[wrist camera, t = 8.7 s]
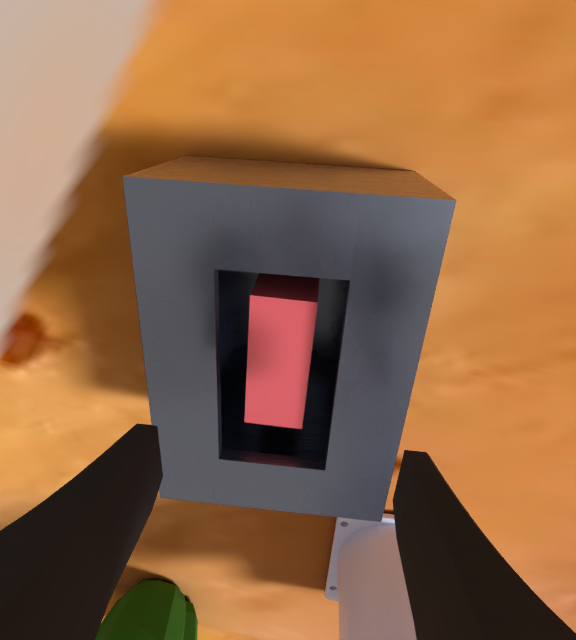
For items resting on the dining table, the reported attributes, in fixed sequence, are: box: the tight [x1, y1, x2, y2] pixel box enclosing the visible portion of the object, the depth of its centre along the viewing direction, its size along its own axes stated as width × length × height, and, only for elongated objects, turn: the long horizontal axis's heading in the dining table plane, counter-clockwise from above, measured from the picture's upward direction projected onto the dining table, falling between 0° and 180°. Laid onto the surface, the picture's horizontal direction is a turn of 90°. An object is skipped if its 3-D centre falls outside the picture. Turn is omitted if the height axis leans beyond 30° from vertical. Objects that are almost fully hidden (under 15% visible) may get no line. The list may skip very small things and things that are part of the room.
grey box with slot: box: [122, 155, 456, 522], centre depth 19 cm, size 14×10×6 cm
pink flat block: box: [244, 273, 319, 429], centre depth 19 cm, size 6×2×5 cm, turn 175°
